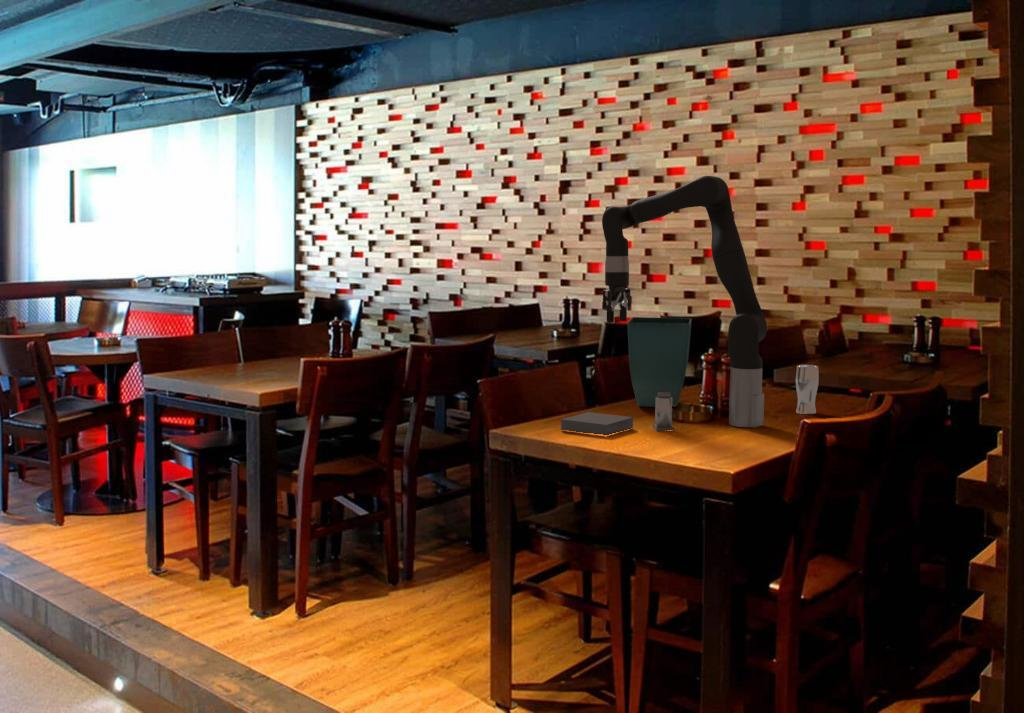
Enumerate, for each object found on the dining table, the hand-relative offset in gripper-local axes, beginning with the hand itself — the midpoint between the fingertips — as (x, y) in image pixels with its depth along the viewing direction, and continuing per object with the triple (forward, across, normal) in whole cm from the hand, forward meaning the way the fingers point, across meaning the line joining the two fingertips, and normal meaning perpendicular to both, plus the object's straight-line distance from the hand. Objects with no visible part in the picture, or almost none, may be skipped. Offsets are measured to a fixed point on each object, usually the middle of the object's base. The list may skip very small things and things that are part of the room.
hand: (616, 321), depth 323 cm
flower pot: (+29, +19, -6) cm, 35 cm away
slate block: (+29, -32, -11) cm, 45 cm away
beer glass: (+29, +32, -51) cm, 67 cm away
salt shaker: (+29, -21, -26) cm, 44 cm away
